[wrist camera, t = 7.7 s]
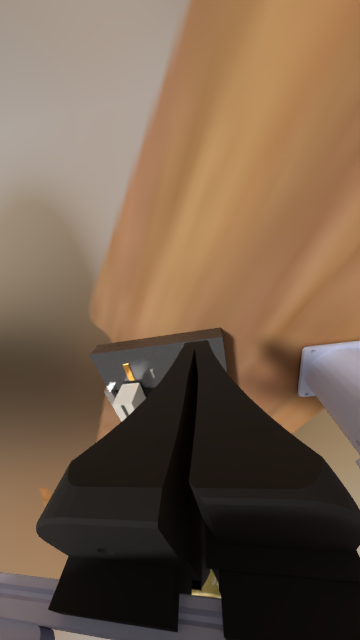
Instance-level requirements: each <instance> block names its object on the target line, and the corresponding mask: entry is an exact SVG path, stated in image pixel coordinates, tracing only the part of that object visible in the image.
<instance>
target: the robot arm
mask: <svg viewBox="0 0 360 640" xmlns="http://www.w3.org/2000/svg"><path fill="white" fill-rule="evenodd" d="M312 350H313V351H312ZM298 395H299V396H300V397H308V396H316V397H317V398H318V400H319V401H320V402H321V404H322V405H323V406H324V408H325V409H326V410H327V412H328V413H329V414H330V416H331V417H332V418H333V420H334V421H335V422H336V424H337V425H338V426H339V428H340V429H341V430H342V432H343V433H344V434H345V436H346V437H347V438H348V440H349V441H350V442H351V444H352V445H353V446H354V448H355V449H356V450H357V452H358V453H359V454H360V341H352V342H344V343H335V344H326V345H318V346H309V347H305V348H303V350H302V357H301V366H300V375H299V384H298ZM356 463H357V465H358V466H359V468H360V459H358V460H356ZM36 531H37V534H38V535H39V537H41V538H42V539H43V540H44V541H46V542H47V543H49V544H50V545H52V546H54V547H55V548H57V549H58V550H60V551H61V552H63V553H65V554H66V555H68V556H69V557H68V559H67V562H66V565H65V567H64V570H63V572H62V575H61V577H60V579H53V578H45V577H36V576H27V575H20V574H11V573H2V572H0V640H55V636H54V631H53V630H52V629H55V630H61V631H66V632H72V633H78V634H84V635H89V636H95V637H100V638H106V639H111V640H360V557H359V555H358V553H357V551H356V550H357V548H358V547H359V545H360V510H359V508H358V506H357V504H356V503H355V501H354V500H353V498H352V497H351V495H350V494H349V492H348V491H347V489H346V488H345V487H344V485H343V484H342V482H341V481H340V480H339V478H338V477H337V475H336V474H335V473H334V472H333V470H332V469H331V468H330V466H329V465H328V464H327V462H325V460H324V459H323V457H321V456H320V455H319V454H317V453H316V452H315V451H313V450H312V449H311V448H309V447H308V446H307V445H305V444H304V443H302V442H301V441H300V440H299V439H297V438H296V437H295V436H293V435H292V434H291V433H290V432H288V431H287V430H286V429H285V428H283V427H282V426H281V425H280V424H278V423H277V422H276V421H275V420H274V419H272V418H271V417H270V416H269V415H268V414H267V413H266V412H264V411H263V410H262V409H261V408H260V407H259V406H258V405H257V404H256V403H255V402H253V401H252V400H251V399H250V398H249V397H248V396H247V395H246V394H245V393H244V392H243V391H242V390H241V389H240V387H239V386H238V385H237V384H236V383H235V382H234V381H233V380H232V378H231V377H230V376H229V375H228V374H227V372H226V371H225V370H224V368H223V367H222V366H221V364H220V363H219V361H218V360H217V358H216V356H215V355H214V353H213V351H212V349H211V347H210V344H209V341H207V340H204V341H196V342H189V343H185V344H184V345H183V347H182V349H181V351H180V352H179V354H178V356H177V358H176V359H175V361H174V362H173V364H172V366H171V367H170V369H169V370H168V372H167V373H166V374H165V376H164V377H163V378H162V380H161V381H160V382H159V384H158V385H157V386H156V387H155V389H154V390H153V391H152V392H151V393H150V394H149V396H148V397H147V398H146V399H145V400H144V401H143V402H142V403H141V404H140V405H139V406H138V407H137V408H136V409H135V410H134V411H133V412H132V413H131V414H130V415H129V416H128V417H126V418H125V419H124V420H123V421H122V422H121V423H120V424H119V425H117V426H116V427H115V428H114V429H113V430H112V431H110V432H109V433H108V434H107V435H105V436H104V437H103V438H102V439H100V440H99V441H98V442H97V443H95V444H94V445H93V446H91V447H90V448H89V449H87V450H86V451H85V452H84V453H82V454H81V455H79V456H78V457H77V458H75V459H74V460H73V461H71V463H70V465H69V466H68V468H67V470H66V472H65V473H64V475H63V477H62V479H61V480H60V482H59V484H58V486H57V488H56V489H55V491H54V493H53V495H52V497H51V498H50V500H49V502H48V504H47V506H46V507H45V509H44V511H43V513H42V515H41V517H40V518H39V520H38V522H37V525H36ZM210 569H212V571H213V573H214V575H215V577H216V579H217V581H218V584H219V592H220V594H221V598H213V597H205V596H197V595H192V590H200V591H202V587H203V585H204V584H205V582H206V580H207V578H208V576H209V574H210Z"/></svg>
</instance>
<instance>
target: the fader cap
mask: <svg viewBox="0 0 360 640" xmlns="http://www.w3.org/2000/svg"><path fill="white" fill-rule="evenodd" d="M145 399H146V397H145V395H144V392H143V390H142V388H141V385H140V383H131V384H122V386H121V388H120V390H119V392H118V394H117V396H116V398H115V400H114V402H113V404H112V405H113V407H114V409H115V411H116V413H117V414H118V416H119V418H120V420H121V422H122V421H123V420H124V419H125V418H126V417H128V416H129V415H130V414H131V413H132V412H133V411H134V410H135V409H136V408H137V407H138V406H139V405H140V404H141V403H142V402H143V401H144V400H145Z"/></svg>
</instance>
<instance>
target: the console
mask: <svg viewBox="0 0 360 640" xmlns="http://www.w3.org/2000/svg"><path fill="white" fill-rule="evenodd" d="M204 340H207V341H209V344H210V347H211V349H212V351H213V353H214V355H215V356H216V358H217V360H218V361H219V363H220V364H221V366H222V367H223V368H224V370H225V371H226V372H227V368H226V360H225V352H224V344H223V337H222V333H221V329H220V328H215V329H208V330H201V331H194V332H187V333H180V334H173V335H166V336H159V337H152V338H145V339H138V340H131V341H124V342H117V343H110V344H103V345H98V346H97V347H96V348H95V349H94V350H93V351H92V352H91V354H90V357H91V358H92V360H93V362H94V364H95V366H96V368H97V369H98V371H99V373H100V375H101V377H102V379H103V381H104V382H105V384H106V386H107V388H106V390H105V391H104V392H105V394H106V396H107V398H108V400H109V401H110V403H111V405H112V404H113V402H114V400H115V398H116V396H117V394H118V392H119V390H120V388H121V386H122V384H131V383H140V385H141V388H142V390H143V392H144V395H145V397H146V398H147V397H148V396H149V394H150V393H151V392H152V391H153V390H154V389H155V387H156V386H157V385H158V384H159V382H160V381H161V380H162V378H163V377H164V376H165V374H166V373H167V372H168V370H169V369H170V367H171V366H172V364H173V362H174V361H175V359H176V358H177V356H178V354H179V352H180V351H181V349H182V347H183V345H184V344H185V343H189V342H196V341H204ZM112 407H113V405H112Z"/></svg>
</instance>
